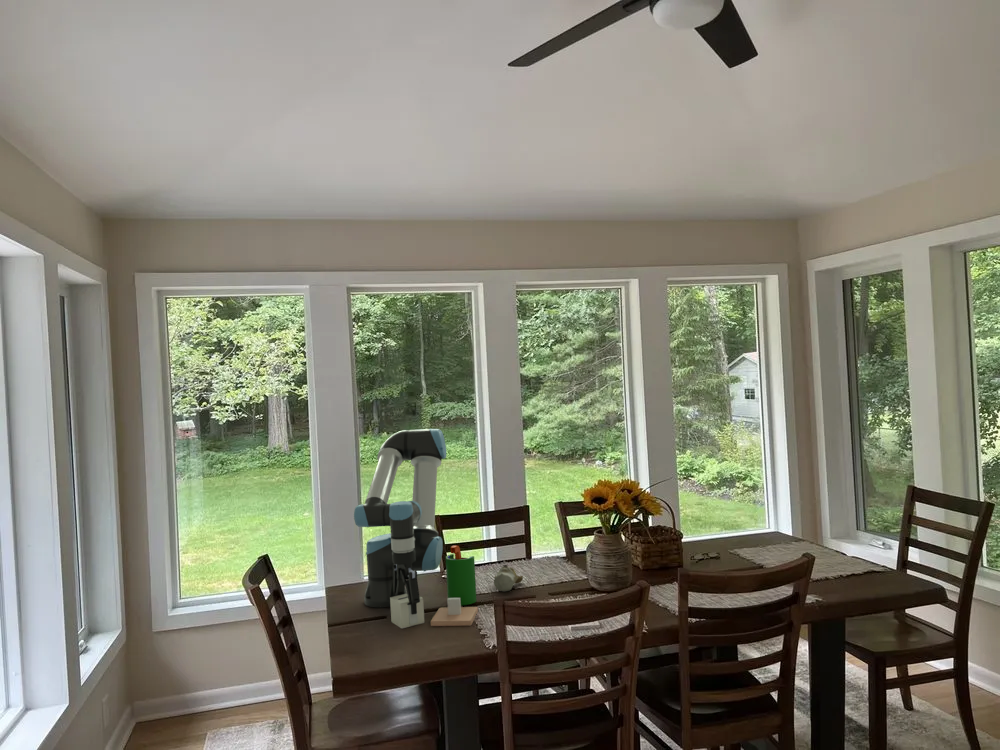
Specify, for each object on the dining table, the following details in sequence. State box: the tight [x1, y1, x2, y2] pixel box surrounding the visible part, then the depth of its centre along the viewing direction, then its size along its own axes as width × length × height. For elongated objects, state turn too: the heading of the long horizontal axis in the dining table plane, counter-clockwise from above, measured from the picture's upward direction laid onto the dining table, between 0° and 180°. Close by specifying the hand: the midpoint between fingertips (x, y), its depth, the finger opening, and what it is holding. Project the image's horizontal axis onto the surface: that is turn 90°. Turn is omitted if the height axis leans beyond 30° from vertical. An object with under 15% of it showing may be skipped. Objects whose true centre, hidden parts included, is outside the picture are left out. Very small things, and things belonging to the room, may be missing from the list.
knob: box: [390, 594, 425, 629], centre depth 232 cm, size 8×8×8 cm
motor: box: [445, 545, 478, 606], centre depth 250 cm, size 10×9×20 cm
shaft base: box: [430, 597, 479, 627], centre depth 233 cm, size 13×13×6 cm
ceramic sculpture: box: [493, 564, 524, 592], centre depth 263 cm, size 11×9×15 cm
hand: (407, 620), depth 232 cm, fingers closed on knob, 8 cm apart
